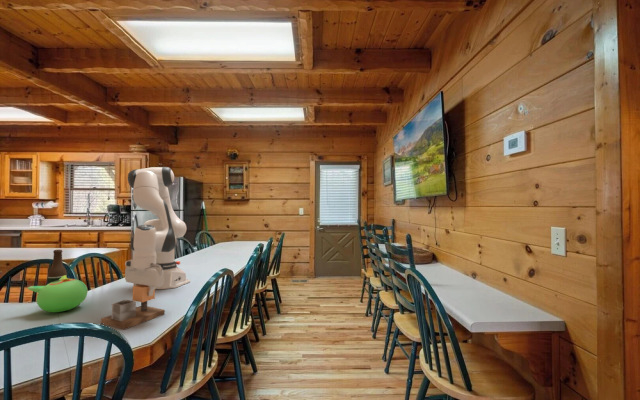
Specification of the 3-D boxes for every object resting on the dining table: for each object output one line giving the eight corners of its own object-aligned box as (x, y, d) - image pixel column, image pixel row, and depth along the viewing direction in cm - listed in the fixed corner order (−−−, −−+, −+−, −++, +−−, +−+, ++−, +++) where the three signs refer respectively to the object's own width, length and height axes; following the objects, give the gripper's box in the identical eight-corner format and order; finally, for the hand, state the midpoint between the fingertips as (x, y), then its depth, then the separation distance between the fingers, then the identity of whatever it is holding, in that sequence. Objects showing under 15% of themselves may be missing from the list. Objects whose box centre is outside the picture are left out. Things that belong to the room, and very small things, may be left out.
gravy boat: (56, 319, 128) (57, 283, 128) (24, 315, 132) (24, 281, 132) (95, 305, 146) (96, 274, 146) (66, 302, 149) (67, 272, 149)
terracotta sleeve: (145, 296, 138) (145, 283, 138) (154, 298, 136) (155, 284, 136) (132, 300, 133) (132, 286, 133) (142, 302, 130) (142, 288, 130)
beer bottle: (44, 300, 152) (45, 251, 153) (50, 295, 159) (51, 249, 160) (63, 298, 155) (64, 250, 156) (69, 294, 163) (69, 248, 163)
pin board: (142, 309, 141) (142, 292, 141) (164, 314, 136) (164, 296, 136) (101, 323, 125) (101, 303, 125) (124, 329, 119) (124, 308, 119)
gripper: (168, 263, 133) (167, 295, 133) (135, 259, 141) (135, 289, 141) (155, 266, 127) (154, 299, 127) (122, 261, 136) (121, 293, 135)
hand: (144, 294), depth 134 cm, fingers closed on terracotta sleeve, 6 cm apart
